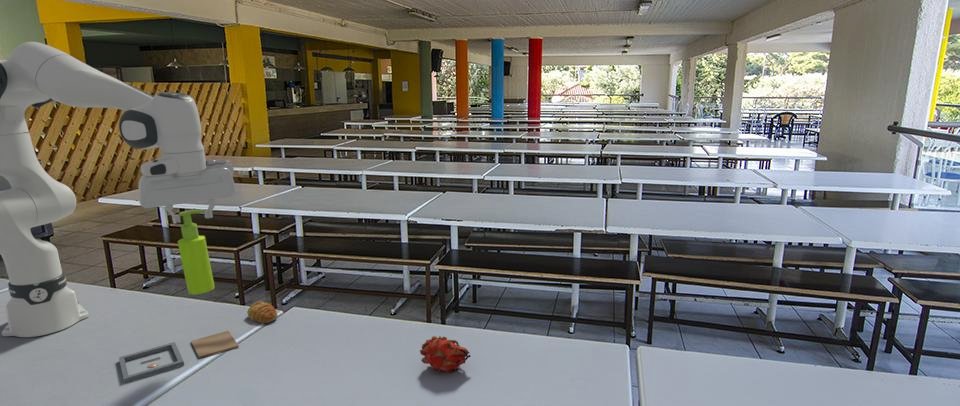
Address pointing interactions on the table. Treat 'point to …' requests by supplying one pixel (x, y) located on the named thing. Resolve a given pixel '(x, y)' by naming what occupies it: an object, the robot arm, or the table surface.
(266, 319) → the pastry
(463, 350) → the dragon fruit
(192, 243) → the soap dispenser
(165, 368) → the slate frame
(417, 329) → the table surface
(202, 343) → the walnut pad
